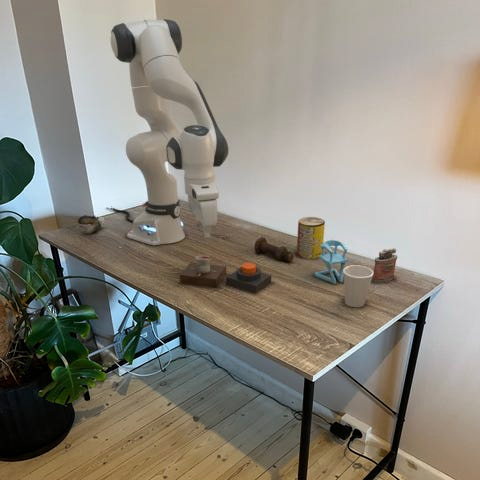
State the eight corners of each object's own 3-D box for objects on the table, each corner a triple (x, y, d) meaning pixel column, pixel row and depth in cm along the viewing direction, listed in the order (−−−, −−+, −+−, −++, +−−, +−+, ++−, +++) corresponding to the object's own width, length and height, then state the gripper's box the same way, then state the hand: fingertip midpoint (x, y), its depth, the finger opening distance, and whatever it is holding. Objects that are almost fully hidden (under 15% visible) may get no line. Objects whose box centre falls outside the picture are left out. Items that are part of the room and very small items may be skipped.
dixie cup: (348, 293, 149) (352, 262, 144) (374, 301, 144) (379, 270, 139) (334, 303, 143) (337, 271, 138) (360, 312, 138) (364, 280, 133)
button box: (226, 284, 154) (225, 271, 152) (242, 274, 161) (242, 261, 158) (255, 293, 149) (255, 280, 147) (271, 282, 155) (271, 269, 153)
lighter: (376, 284, 154) (380, 254, 149) (369, 280, 156) (373, 250, 151) (396, 278, 157) (401, 249, 152) (389, 274, 160) (393, 245, 154)
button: (238, 272, 152) (238, 266, 151) (246, 267, 155) (246, 261, 154) (250, 275, 150) (250, 269, 149) (258, 270, 153) (258, 264, 152)
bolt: (289, 268, 169) (257, 255, 178) (298, 257, 170) (265, 245, 179) (285, 257, 164) (252, 244, 173) (294, 246, 166) (260, 234, 175)
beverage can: (295, 248, 179) (297, 216, 173) (320, 249, 179) (323, 216, 173) (297, 258, 171) (299, 225, 165) (323, 258, 171) (326, 225, 165)
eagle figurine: (90, 222, 202) (74, 225, 195) (97, 209, 199) (80, 211, 191) (102, 235, 201) (86, 238, 194) (109, 222, 197) (93, 224, 190)
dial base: (180, 283, 155) (179, 274, 154) (191, 270, 164) (191, 261, 162) (216, 288, 152) (216, 278, 151) (226, 274, 161) (226, 265, 159)
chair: (328, 285, 153) (331, 249, 147) (314, 275, 160) (316, 240, 154) (349, 281, 156) (353, 245, 150) (334, 271, 162) (337, 236, 156)
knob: (194, 272, 155) (193, 258, 153) (199, 266, 159) (198, 253, 156) (207, 273, 154) (206, 259, 152) (212, 268, 158) (211, 254, 155)
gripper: (181, 179, 151) (184, 222, 158) (198, 196, 134) (201, 244, 141) (201, 177, 153) (204, 220, 160) (220, 194, 136) (222, 241, 143)
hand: (202, 231), depth 150 cm, fingers open, 8 cm apart
